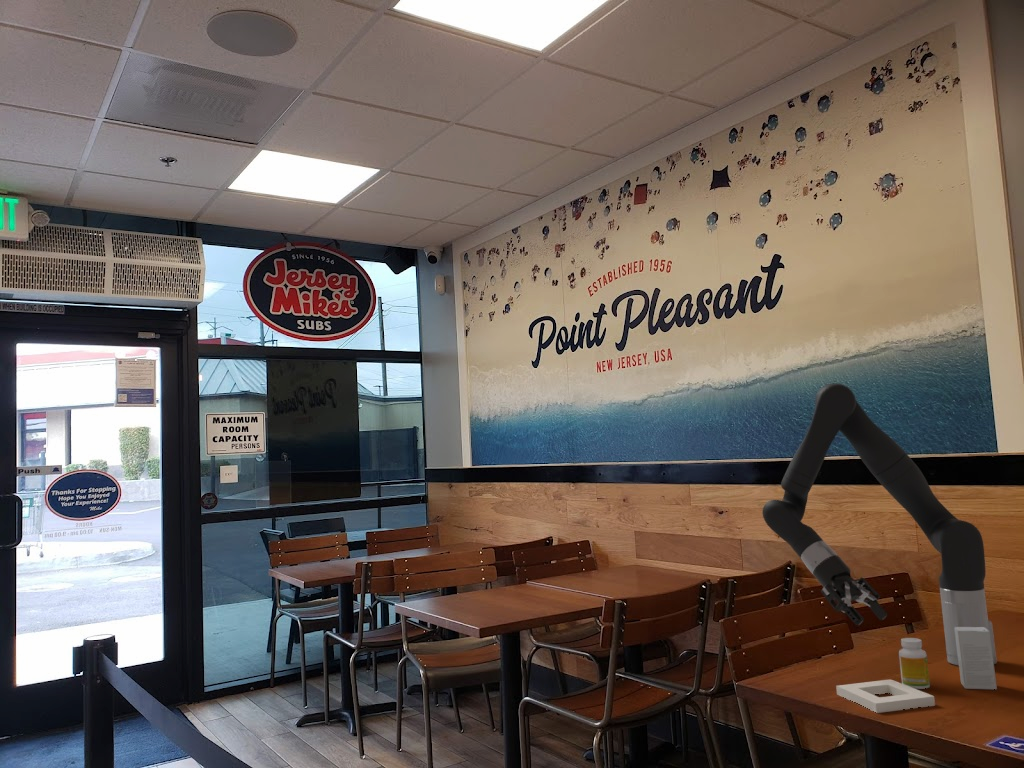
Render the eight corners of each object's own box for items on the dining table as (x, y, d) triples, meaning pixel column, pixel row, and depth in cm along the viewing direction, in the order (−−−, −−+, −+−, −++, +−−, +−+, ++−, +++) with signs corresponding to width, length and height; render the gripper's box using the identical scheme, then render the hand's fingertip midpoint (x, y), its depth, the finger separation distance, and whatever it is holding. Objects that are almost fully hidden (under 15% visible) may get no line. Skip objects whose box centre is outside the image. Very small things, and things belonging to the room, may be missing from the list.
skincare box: (992, 684, 166) (985, 626, 167) (997, 690, 161) (990, 631, 163) (959, 683, 167) (953, 626, 169) (964, 689, 163) (957, 630, 165)
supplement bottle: (933, 689, 164) (928, 642, 165) (906, 689, 165) (901, 642, 166) (925, 682, 169) (920, 636, 170) (898, 682, 170) (894, 636, 171)
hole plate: (891, 688, 167) (890, 679, 167) (935, 705, 154) (934, 696, 154) (837, 694, 164) (836, 685, 164) (876, 713, 152) (875, 703, 152)
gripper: (813, 557, 182) (862, 614, 171) (852, 551, 189) (901, 605, 178) (797, 578, 185) (843, 635, 174) (835, 571, 193) (882, 625, 182)
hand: (872, 620), depth 176 cm, fingers open, 8 cm apart
